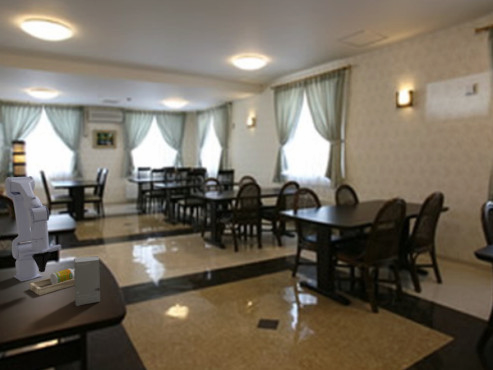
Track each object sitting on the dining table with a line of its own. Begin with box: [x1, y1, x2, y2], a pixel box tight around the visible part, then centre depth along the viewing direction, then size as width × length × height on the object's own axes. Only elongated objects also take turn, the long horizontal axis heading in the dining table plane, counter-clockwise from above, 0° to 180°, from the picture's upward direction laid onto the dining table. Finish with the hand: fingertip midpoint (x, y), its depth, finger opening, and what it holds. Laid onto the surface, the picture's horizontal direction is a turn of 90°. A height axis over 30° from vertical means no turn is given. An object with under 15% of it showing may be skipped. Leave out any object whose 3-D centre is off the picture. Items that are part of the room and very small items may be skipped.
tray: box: [28, 277, 75, 296], centre depth 140 cm, size 10×20×2 cm, turn 141°
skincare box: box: [73, 255, 101, 307], centre depth 124 cm, size 8×7×16 cm
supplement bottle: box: [49, 268, 75, 285], centre depth 142 cm, size 5×5×10 cm
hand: (42, 271), depth 134 cm, fingers closed
